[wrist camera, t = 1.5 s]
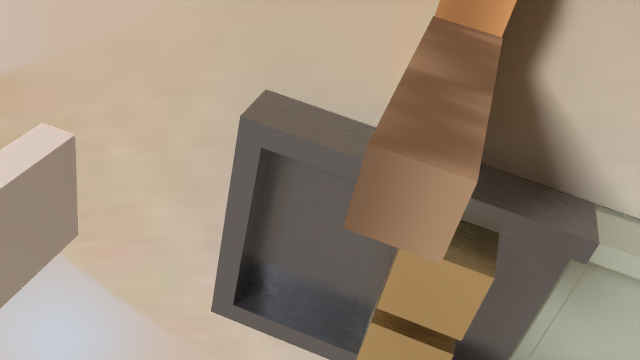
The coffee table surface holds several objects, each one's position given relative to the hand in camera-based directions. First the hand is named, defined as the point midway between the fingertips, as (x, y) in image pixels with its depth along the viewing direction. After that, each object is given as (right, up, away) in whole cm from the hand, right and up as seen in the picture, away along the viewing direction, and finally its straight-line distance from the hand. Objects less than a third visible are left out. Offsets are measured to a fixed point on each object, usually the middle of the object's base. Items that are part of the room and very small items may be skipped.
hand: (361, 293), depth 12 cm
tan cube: (+4, -5, +20) cm, 21 cm away
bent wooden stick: (+5, +8, +13) cm, 16 cm away
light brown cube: (+5, -1, +17) cm, 18 cm away
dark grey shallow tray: (+3, -1, +20) cm, 20 cm away
